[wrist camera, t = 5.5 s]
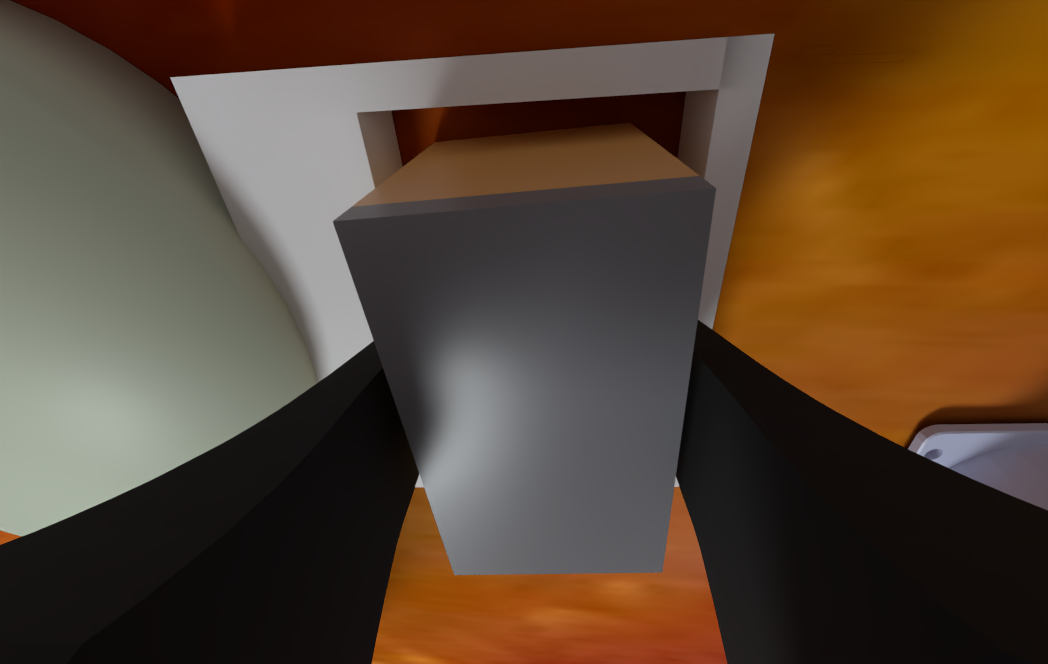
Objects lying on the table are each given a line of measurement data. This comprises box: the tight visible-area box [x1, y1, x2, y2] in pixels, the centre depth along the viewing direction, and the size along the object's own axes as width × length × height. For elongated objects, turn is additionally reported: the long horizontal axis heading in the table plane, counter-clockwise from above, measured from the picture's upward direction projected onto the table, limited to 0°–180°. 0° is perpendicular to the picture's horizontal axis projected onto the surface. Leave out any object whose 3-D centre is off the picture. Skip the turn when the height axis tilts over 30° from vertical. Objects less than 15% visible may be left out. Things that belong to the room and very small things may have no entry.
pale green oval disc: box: [0, 0, 775, 536], centre depth 11 cm, size 16×26×3 cm, turn 93°
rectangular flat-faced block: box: [333, 123, 716, 575], centre depth 10 cm, size 8×4×6 cm, turn 6°
